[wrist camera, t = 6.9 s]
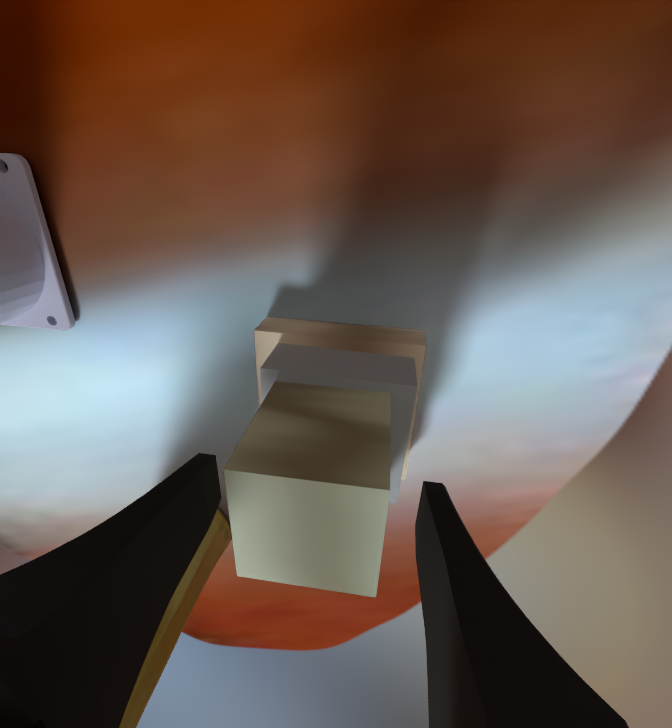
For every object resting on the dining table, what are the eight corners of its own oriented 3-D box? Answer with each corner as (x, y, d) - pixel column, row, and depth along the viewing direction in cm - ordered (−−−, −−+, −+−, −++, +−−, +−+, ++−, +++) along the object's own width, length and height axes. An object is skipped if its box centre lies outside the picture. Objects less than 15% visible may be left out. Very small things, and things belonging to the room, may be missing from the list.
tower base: (275, 433, 22) (262, 462, 20) (270, 312, 19) (254, 330, 17) (403, 448, 21) (404, 480, 19) (422, 325, 18) (426, 345, 16)
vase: (201, 480, 24) (-17, 827, 11) (248, 545, 26) (110, 896, 13) (129, 500, 26) (-130, 817, 13) (179, 559, 28) (-1, 880, 15)
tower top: (279, 449, 19) (264, 484, 17) (278, 342, 17) (260, 367, 14) (396, 465, 19) (396, 503, 17) (414, 357, 16) (417, 386, 14)
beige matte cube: (278, 469, 17) (237, 575, 12) (274, 381, 15) (223, 469, 10) (380, 482, 16) (376, 597, 12) (390, 392, 14) (390, 490, 10)
